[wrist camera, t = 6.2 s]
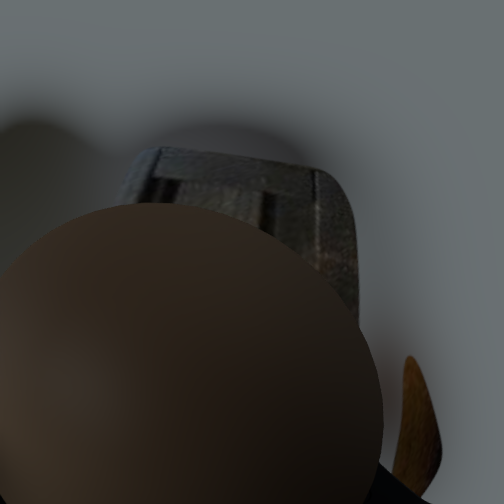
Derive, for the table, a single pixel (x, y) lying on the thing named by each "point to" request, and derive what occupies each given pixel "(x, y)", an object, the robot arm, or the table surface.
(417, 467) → the table surface
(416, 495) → the robot arm
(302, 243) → the table surface
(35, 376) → the brown flanged cylinder
